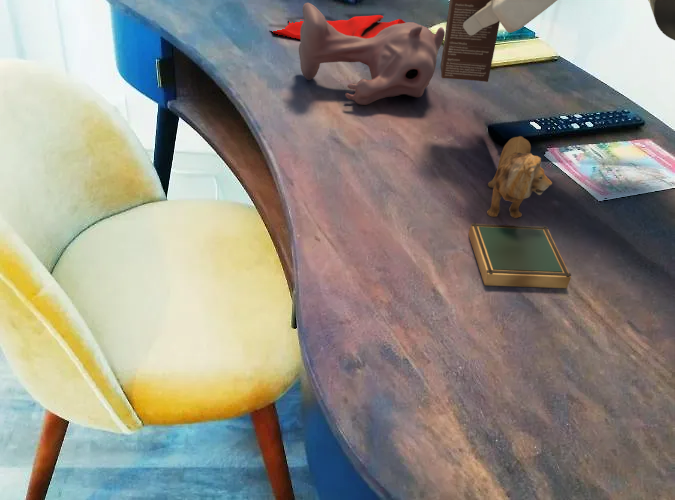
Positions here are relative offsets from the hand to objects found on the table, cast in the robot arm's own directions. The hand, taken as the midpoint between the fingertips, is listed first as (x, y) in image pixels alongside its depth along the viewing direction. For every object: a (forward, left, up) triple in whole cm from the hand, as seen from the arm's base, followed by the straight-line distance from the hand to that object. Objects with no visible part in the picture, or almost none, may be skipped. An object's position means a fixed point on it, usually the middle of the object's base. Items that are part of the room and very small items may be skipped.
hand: (467, 21), depth 78 cm
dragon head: (+10, -14, -16) cm, 23 cm away
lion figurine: (-5, +15, -16) cm, 23 cm away
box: (-1, 0, -7) cm, 7 cm away
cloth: (+12, -37, -16) cm, 42 cm away
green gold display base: (-3, +26, -16) cm, 31 cm away
